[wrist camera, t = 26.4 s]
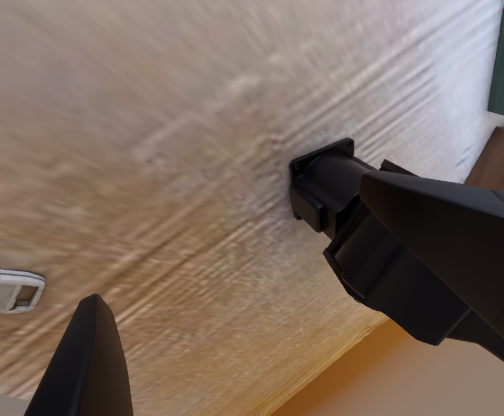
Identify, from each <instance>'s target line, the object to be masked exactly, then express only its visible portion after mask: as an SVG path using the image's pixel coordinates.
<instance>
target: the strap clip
mask: <svg viewBox="0 0 504 416" xmlns="http://www.w3.org/2000/svg"><path fill="white" fill-rule="evenodd" d="M23 285H28V286H37V288H36V290H35V292H34V294H33V296H32V298H31V300H30V301H18V300H16V299H17V297H18V295H19V293H20V291H21V289H22V287H23ZM44 287H45V279H44V278H43V277H41V276H38V275H35V274H32V273H29V272H23V271H12V270H2V269H0V313H8V314H13V313H22V312H28V311H31V310H33V309H34V307H35V305H36V304H37V302H38V300H39V297H40V295H41V293H42V291H43V289H44Z"/></svg>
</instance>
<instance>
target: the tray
mask: <svg viewBox="0 0 504 416" xmlns="http://www.w3.org/2000/svg"><path fill="white" fill-rule="evenodd" d="M488 111H490V112H493V113H497V114H501V115H504V12H503V18H502V24H501V30H500V37H499V43H498V49H497V55H496V62H495V68H494V74H493V80H492V87H491V93H490V99H489V105H488Z"/></svg>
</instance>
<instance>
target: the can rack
mask: <svg viewBox="0 0 504 416" xmlns="http://www.w3.org/2000/svg"><path fill="white" fill-rule="evenodd" d="M465 185H471V186H477V187H483V188H488V189H496V190H502V191H504V127H496V129H495V131H494V132H493V134H492V136H491V138H490V139H489V141H488V143H487V145H486V146H485V148H484V150H483V152H482V154H481V155H480V157H479V159H478V161H477V162H476V164H475V166H474V168H473V169H472V171H471V173H470V175H469V176H468V178H467V180H466V182H465Z"/></svg>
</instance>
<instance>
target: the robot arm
mask: <svg viewBox="0 0 504 416" xmlns="http://www.w3.org/2000/svg"><path fill="white" fill-rule="evenodd" d="M348 143H349V144H348ZM353 155H354V140H353V139H351V138H346V139H343V140H341V141H338V142H336V143H334V144H331V145H329V146H326V147H324V148H321V149H319V150H316V151H314V152H311V153H309V154H306V155H304V156H301V157H299V158H297V159H294V160H292V161H291V163H290V165H289V168H290V179H291V185H290V194H291V205H292V209H293V211H294V217H295V218H296V219H297V220H301V219H303V220H305V221H306V222H307V223H308V224H309V225H310V226H311V227H312V228H313V229H314V230H315V231H316V232H318V233H321V232H324V233H325V234H326V235H327V236H328V237H329V238H330V239H331V240H332V241H331V243H330V244H329V246H328V247H326V248H325V250H324V251H323V255H324V256H325V258H326V260H327V262H328V263H329V265H330V266H331V268H332V270H333V271H334V273H335V274H336V276H337V277H338V279H339V281H340V282H341V284H342V285H343V287H344V288H345V290H346V292H347V293H348V294H349V295H350V296H352V297H353V298H354V300H355V301H357V302H358V303H362V304H364V305H365V306H367V307H369V308H371V309H373V310H376V311H380V312H382V313H384V314H385V315H387V316H388V317H390V318H391V319H392V320H393V321H395V322H396V323H397V324H398V325H400V326H401V327H402V328H403V329H404V330H406V331H407V332H408V333H409V334H410V335H411V336H413V337H414V338H415V339H417V340H419V341H422V342H425V343H428V344H431V345H434V346H438V345H439V344H440V343H441V342H442V341H443V340H444V339H445V338H450V339H455V340H461V341H467V342H472V343H476V344H479V345H480V346H482V347H483V348H485V349H486V350H488V351H489V352H491V353H492V354H493V355H495V356H496V357H498V358H499V359H501V360H502V361H503V362H504V191H502V190H496V189H488V188H483V187H477V186H471V185H465V184H459V183H453V182H446V181H440V180H434V179H428V178H422V177H419V176H417V175H415V174H413V173H411V172H409V171H407V170H405V169H403V168H401V167H399V166H397V165H395V164H394V163H392V162H390V161H388V160H386V159H384V161H383V162H382V164H381V168H380V169H379V170H377V169H375V168H374V167H372V166H370V165H368V164H367V163H365V162H363V161H361V160H360V159H358V158H356V157H354V156H353ZM296 164H297V165H296ZM295 165H296V167H295ZM24 416H133V408H132V400H131V393H130V385H129V377H128V370H127V364H126V360H125V356H124V352H123V349H122V345H121V341H120V337H119V333H118V330H117V326H116V322H115V318H114V315H113V313H112V311H111V309H110V308H109V306H108V305H107V304H106V303H105V301H104V300H103V299H102V298H101V296H100V295H98V294H92V295H90V296H88V297H86V298H83V299H82V300H81V301H80V303H79V305H78V307H77V309H76V311H75V313H74V315H73V317H72V319H71V321H70V323H69V325H68V327H67V329H66V331H65V333H64V335H63V337H62V339H61V341H60V343H59V345H58V347H57V349H56V351H55V353H54V355H53V357H52V359H51V361H50V363H49V365H48V367H47V369H46V371H45V374H44V376H43V378H42V380H41V382H40V384H39V386H38V388H37V390H36V392H35V394H34V396H33V398H32V400H31V402H30V404H29V406H28V408H27V410H26V412H25V414H24Z"/></svg>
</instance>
